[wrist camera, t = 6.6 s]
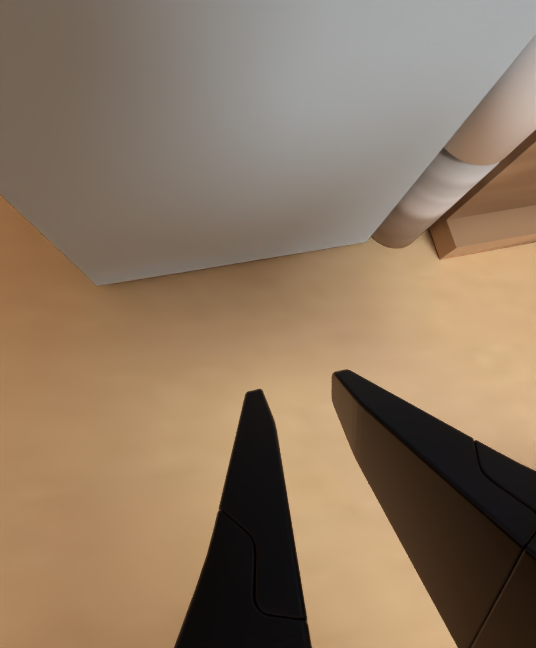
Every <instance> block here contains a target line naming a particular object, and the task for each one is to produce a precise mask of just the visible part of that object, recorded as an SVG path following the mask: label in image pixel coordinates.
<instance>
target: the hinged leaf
mask: <svg viewBox="0 0 536 648" xmlns="http://www.w3.org/2000/svg"><path fill="white" fill-rule="evenodd" d="M535 130H536V0H0V195H1V196H2V197H3V198H4V199H5V200H6V201H8V202H9V203H10V204H11V205H12V206H13V207H14V208H15V209H16V210H17V211H18V212H19V213H20V214H21V215H22V216H23V217H24V218H26V219H27V220H28V221H29V222H30V223H31V224H32V225H33V226H34V227H35V228H36V229H37V230H38V231H39V232H40V233H41V234H42V235H44V236H45V237H46V238H47V239H48V240H49V241H50V242H51V243H52V244H53V245H54V246H55V247H56V248H57V249H58V250H59V251H60V252H62V253H63V254H64V255H65V256H66V257H67V258H68V259H69V260H70V261H71V262H72V263H73V264H74V265H75V266H76V267H77V268H78V269H80V270H81V271H82V272H83V273H84V274H85V275H86V276H87V277H88V278H89V279H90V280H91V281H92V282H93V283H94V284H95V285H96V286H101V285H107V284H113V283H119V282H126V281H132V280H138V279H144V278H150V277H156V276H162V275H168V274H174V273H181V272H187V271H193V270H199V269H205V268H211V267H217V266H223V265H229V264H236V263H242V262H248V261H254V260H260V259H266V258H272V257H278V256H285V255H291V254H297V253H303V252H309V251H315V250H321V249H327V248H333V247H340V246H346V245H352V244H358V243H364V242H367V240H368V239H369V238H370V237H371V236H372V234H373V233H374V232H375V231H376V229H377V228H378V227H379V226H380V224H381V223H382V222H383V221H384V220H385V218H386V217H387V216H388V215H389V213H390V212H391V211H392V210H393V209H394V207H395V206H396V205H397V204H398V202H399V201H400V200H401V199H402V197H403V196H404V195H405V194H406V193H407V191H408V190H409V189H410V188H411V186H412V185H413V184H414V183H415V181H416V180H417V179H418V178H419V177H420V175H421V174H422V173H423V172H424V170H425V169H426V168H427V167H428V166H429V164H430V163H431V162H432V161H433V159H434V158H435V157H436V156H437V154H438V153H439V152H440V151H441V150H442V148H443V147H444V148H445V149H446V150H447V151H448V152H449V153H450V154H451V155H453V156H454V157H456V158H457V159H459V160H461V161H464V162H466V163H469V164H473V165H480V166H485V165H492V164H495V163H498V162H500V161H501V160H503V159H504V158H505V157H506V156H507V155H509V154H510V153H511V152H512V151H513V150H514V149H515V148H516V147H517V146H518V145H519V144H521V143H522V142H523V141H524V140H525V139H526V138H527V137H528V136H529V135H530V134H531V133H533V132H534V131H535Z"/></svg>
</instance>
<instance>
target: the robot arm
mask: <svg viewBox="0 0 536 648" xmlns="http://www.w3.org/2000/svg"><path fill="white" fill-rule="evenodd" d="M332 402H333V405H334V408H335V410H336V413H337V415H338V417H339V420H340V422H341V425H342V427H343V430H344V432H345V435H346V437H347V440H348V442H349V445H350V447H351V450H352V452H353V454H354V457H355V459H356V461H357V462H358V464H359V466H360V468H361V470H362V472H363V474H364V476H365V477H366V479H367V481H368V483H369V485H370V487H371V488H372V490H373V492H374V494H375V496H376V498H377V499H378V501H379V503H380V505H381V507H382V509H383V511H384V512H385V514H386V516H387V518H388V520H389V522H390V523H391V525H392V527H393V529H394V531H395V533H396V534H397V536H398V538H399V540H400V542H401V544H402V546H403V547H404V549H405V551H406V553H407V555H408V557H409V558H410V560H411V562H412V564H413V566H414V568H415V569H416V571H417V573H418V575H419V577H420V579H421V580H422V582H423V584H424V586H425V588H426V590H427V592H428V593H429V595H430V597H431V599H432V601H433V603H434V604H435V606H436V608H437V610H438V612H439V614H440V615H441V617H442V619H443V621H444V623H445V625H446V627H447V628H448V630H449V632H450V634H451V636H452V638H453V639H454V641H455V643H456V645H457V647H458V648H536V471H534V470H532V469H530V468H528V467H526V466H524V465H522V464H520V463H518V462H516V461H514V460H512V459H510V458H509V457H507V456H505V455H503V454H501V453H499V452H497V451H495V450H493V449H492V448H490V447H488V446H486V445H484V444H483V443H481V442H479V441H477V440H475V441H474V440H473V438H471V437H470V436H468V435H466V434H464V433H462V432H461V431H459V430H457V429H455V428H453V427H452V426H450V425H448V424H446V423H444V422H443V421H441V420H439V419H437V418H435V417H434V416H432V415H430V414H428V413H426V412H424V411H423V410H421V409H419V408H417V407H415V406H414V405H412V404H410V403H408V402H406V401H405V400H403V399H401V398H399V397H397V396H396V395H394V394H392V393H390V392H388V391H387V390H385V389H383V388H381V387H379V386H377V385H376V384H374V383H372V382H370V381H368V380H367V379H365V378H363V377H361V376H359V375H358V374H356V373H354V372H352V371H350V370H341V371H337V372H334V373H333V374H332ZM174 648H312V645H311V639H310V633H309V627H308V624H307V615H306V608H305V602H304V596H303V590H302V584H301V578H300V571H299V565H298V559H297V553H296V547H295V540H294V534H293V528H292V522H291V516H290V509H289V503H288V497H287V491H286V485H285V479H284V472H283V466H282V460H281V454H280V448H279V441H278V435H277V429H276V425H275V421H274V418H273V416H272V413H271V410H270V408H269V405H268V403H267V400H266V398H265V395H264V393H263V391H262V390H261V389H257V390H253V391H248V392H247V393H246V394H245V398H244V402H243V407H242V411H241V415H240V420H239V424H238V428H237V432H236V437H235V441H234V445H233V449H232V454H231V458H230V462H229V467H228V471H227V475H226V479H225V484H224V488H223V492H222V497H221V501H220V505H219V511H218V513H217V517H216V521H215V526H214V530H213V533H212V537H211V541H210V545H209V548H208V552H207V556H206V559H205V562H204V565H203V568H202V571H201V574H200V577H199V580H198V583H197V586H196V589H195V591H194V594H193V597H192V600H191V602H190V605H189V608H188V611H187V613H186V616H185V619H184V622H183V624H182V627H181V630H180V633H179V635H178V638H177V641H176V644H175V646H174Z"/></svg>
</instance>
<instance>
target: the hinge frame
mask: <svg viewBox="0 0 536 648" xmlns="http://www.w3.org/2000/svg"><path fill="white" fill-rule="evenodd" d="M428 228H429V230H430V233H431V235H432V238H433V241H434V244H435V247H436V250H437V253H438V255H439V258H440V259H446V258H451V257H457V256H462V255H468V254H473V253H478V252H484V251H489V250H495V249H500V248H505V247H511V246H516V245H522V244H527V243H533V242H536V130H535V131H534V132H533V133H531V134H530V135H529V136H528V137H527V138H526V139H525V140H524V141H523V142H522V143H521V144H519V145H518V146H517V147H516V148H515V149H514V150H513V151H512V152H511V153H510V154H509V155H507V156H506V157H505V158H504V159H503V160H501V161H500V162H498V163H495V164H492V165H485V166H480V165H473V164H469V163H466V162H464V161H461V160H459V159H457V158H456V157H454V156H453V155H451V154H450V153H449V152H448V151H447V150H446V149H445V148H444V147H443V148H442V150H441V151H440V152H439V153H438V154H437V156H436V157H435V158H434V159H433V161H432V162H431V163H430V164H429V166H428V167H427V168H426V169H425V170H424V172H423V173H422V174H421V175H420V177H419V178H418V179H417V180H416V181H415V183H414V184H413V185H412V186H411V188H410V189H409V190H408V191H407V193H406V194H405V195H404V196H403V197H402V199H401V200H400V201H399V202H398V204H397V205H396V206H395V207H394V209H393V210H392V211H391V212H390V213H389V215H388V216H387V217H386V218H385V220H384V221H383V222H382V223H381V224H380V226H379V227H378V228H377V229H376V231H375V232H374V233H373V234H372V238H373V239H374V240H376V241H377V242H378V243H380V244H381V245H383V246H386V247H389V248H403V247H406V246H408V245H410V244H411V243H412V242H414V241H415V240H416V239H417V238H418V237H419V236H420V235H421V234H422V233H423V232H424V231H426V230H427V229H428Z"/></svg>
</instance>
